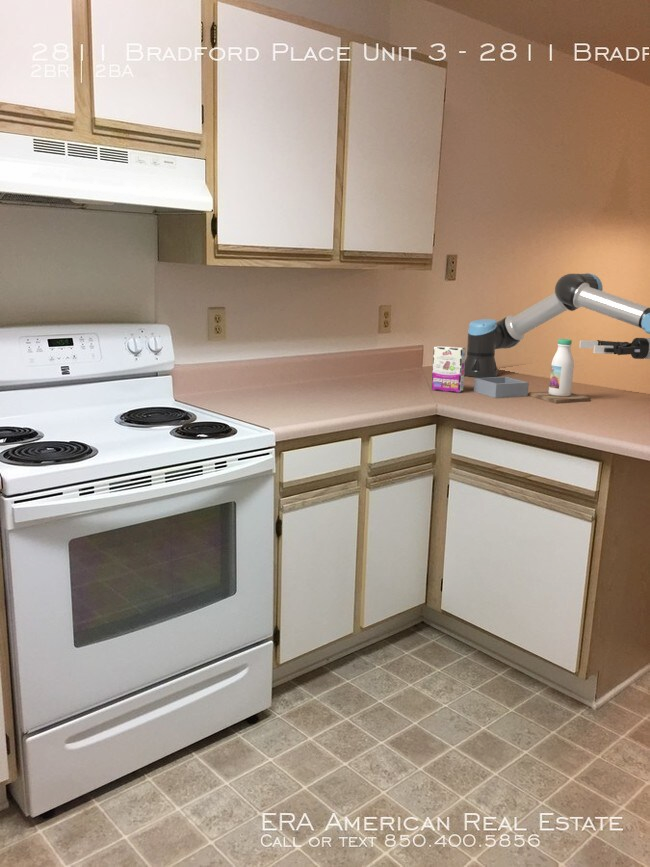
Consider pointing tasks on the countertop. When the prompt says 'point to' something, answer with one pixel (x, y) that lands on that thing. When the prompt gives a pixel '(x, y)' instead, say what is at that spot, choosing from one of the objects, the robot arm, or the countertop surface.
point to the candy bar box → (448, 369)
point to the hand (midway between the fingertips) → (586, 346)
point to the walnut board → (559, 397)
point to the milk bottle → (562, 370)
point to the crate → (501, 387)
